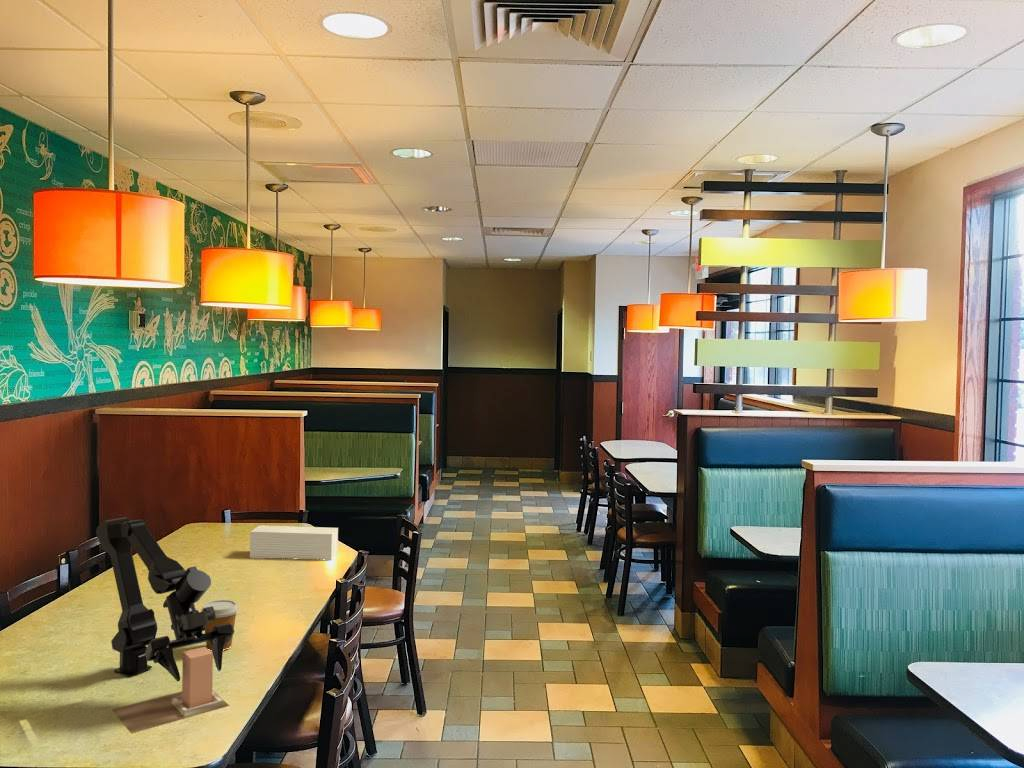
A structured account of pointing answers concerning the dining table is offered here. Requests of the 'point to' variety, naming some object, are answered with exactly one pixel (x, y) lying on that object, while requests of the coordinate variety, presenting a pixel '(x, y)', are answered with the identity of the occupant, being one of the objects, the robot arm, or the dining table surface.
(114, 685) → the dining table surface
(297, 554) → the stack of papers
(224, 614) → the disposable coffee cup
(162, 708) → the baseboard
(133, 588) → the robot arm
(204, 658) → the pillar
